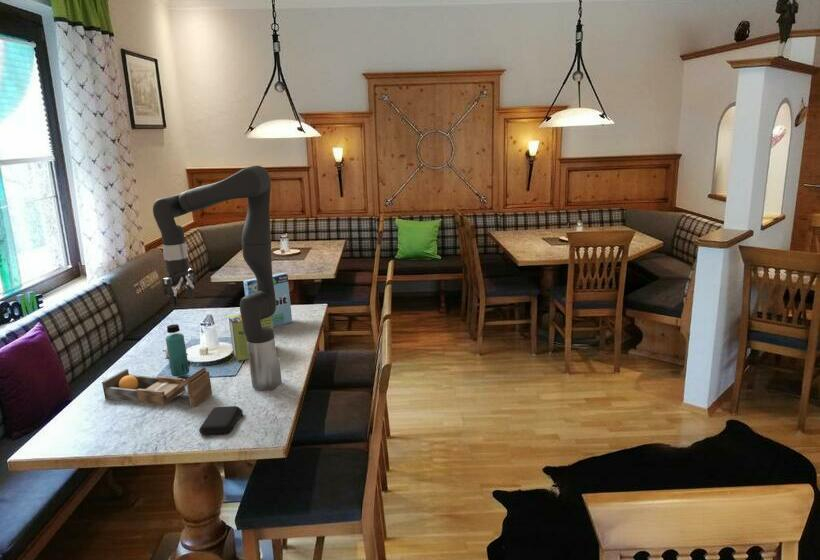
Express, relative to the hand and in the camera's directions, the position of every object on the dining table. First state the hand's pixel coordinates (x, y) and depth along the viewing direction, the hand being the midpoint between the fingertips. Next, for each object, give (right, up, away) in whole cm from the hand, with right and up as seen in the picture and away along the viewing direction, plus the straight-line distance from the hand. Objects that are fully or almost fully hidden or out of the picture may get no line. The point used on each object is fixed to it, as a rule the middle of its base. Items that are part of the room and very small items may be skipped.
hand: (183, 302), depth 199 cm
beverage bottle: (-6, -28, +14) cm, 32 cm away
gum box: (+15, -13, +65) cm, 68 cm away
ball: (-20, -28, +2) cm, 34 cm away
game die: (-13, -24, +28) cm, 40 cm away
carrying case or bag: (+21, -37, -21) cm, 47 cm away
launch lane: (-8, -32, -1) cm, 33 cm away
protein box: (+15, -22, +34) cm, 43 cm away
